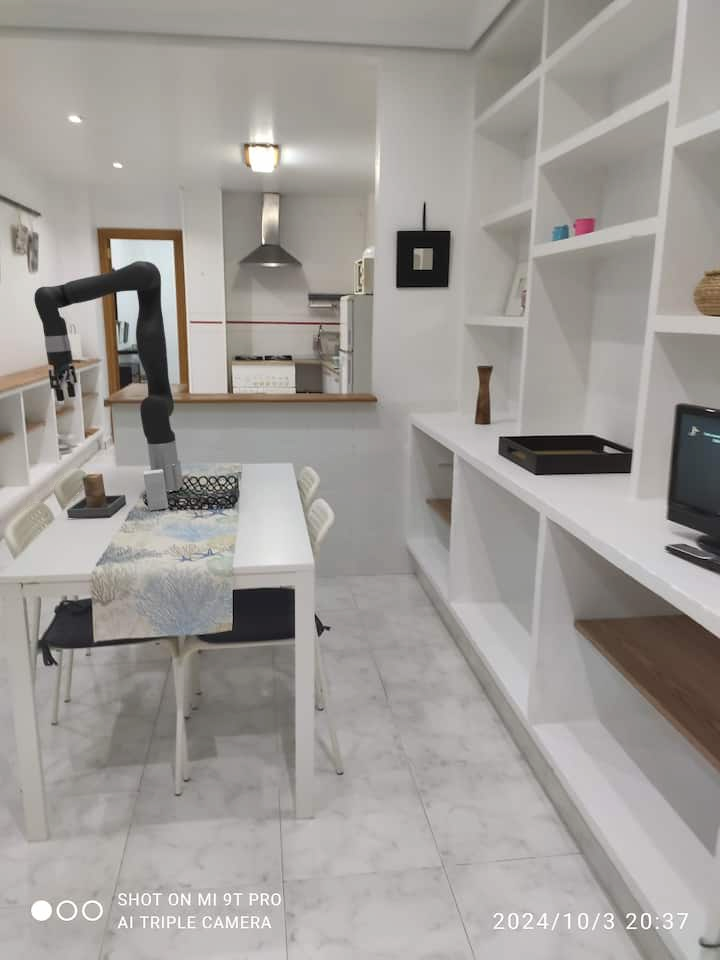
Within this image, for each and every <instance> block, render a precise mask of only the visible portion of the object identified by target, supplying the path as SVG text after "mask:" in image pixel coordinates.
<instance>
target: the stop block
mask: <svg viewBox="0 0 720 960" xmlns="http://www.w3.org/2000/svg"><path fill="white" fill-rule="evenodd" d="M82 483H83V490H84V494H85V495H84V496H85V497H86V502H87V508H107V502H106V496H107V495H106V491H105V484H104V483H105V482H104V478H103V473H93V474H90V473H88V474H87V475H85V476H84V477H82Z"/></svg>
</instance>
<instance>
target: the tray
mask: <svg viewBox="0 0 720 960" xmlns="http://www.w3.org/2000/svg"><path fill="white" fill-rule="evenodd" d="M106 502H107V508H87V502H86V496H85V497H83V498H82V499H80V500H79V501H77V502H75V504H74V505H71V506H70V507H69V508H67V510H66V512H67V518H87V519H104V518H105V519H106V518H109V519H110V518H112V517H113V516H114V515H115V514H116V513H117V512H118V511H120V510H121V509H122V508H123V507H125V506H126V505H127V499H126V494H120V495H119V494H117V495H116V494H115V495H106Z"/></svg>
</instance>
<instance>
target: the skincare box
mask: <svg viewBox="0 0 720 960" xmlns="http://www.w3.org/2000/svg"><path fill="white" fill-rule="evenodd" d="M143 479H144V486H145V492H146V498H147V505H148V510H149V511H150V512H151V511H159V510H163V509H169V501H168V493H166V486H165V480H164V472H163V470H162V469H159V470H151V469H150V470H146V471H144V470H143Z"/></svg>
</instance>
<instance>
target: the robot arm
mask: <svg viewBox="0 0 720 960" xmlns="http://www.w3.org/2000/svg"><path fill="white" fill-rule="evenodd" d="M131 291H132V292H133V291H134V292H135V291H136V293H137V294H136V295H137V300H138V315H137V320H136V328H135V340H136V341H135V342H136V349H137V356H138V358H139V362H140V364H141V367H142V369H143V371H144V374H145V376H146V381H147V397H145V398H143V400H142V401H141V403H140V409H139V410H140V418H141V425H142V429H143V434H144V437H145V438H146V444H147V450H148V460H149V464H150V465H149V467H150V471H151V470H159V469H162V470H163V472H164V480H165V486H166V490H179V489H180V488H181V487H182V486H183V487H184V481H183V474H182V466H181V461H180V460H179V458H178V450H177V441H176V434H175V432H174V431H173V430H172V428H171V421H170V417H171V416H172V414H173V413H174V409H175V405H174V399H173V394H172V390H171V389H172V388H171V384H170V378H169V366H168V364H169V363H168V353H167V351H168V350H167V342H166V341H167V340H166V334H165V332H166V331H165V324H164V318H163V317H164V316H163V311H162V309H163V308H162V277H161V273H160V270H159V268H158V267H157V266H156V264H154V263H153V262H150V261H142V260H137V261H134V262H132V263H130V264H128V265H125V266H122V267H120V268H119V269H115V270H113V271H111V272H108V273H103V274H98V275H93V276H88V277H83V278H79V279H75V280H74V279H73V280H71V281H68V282H66V283H64V284H60V285H54V286H41V287H39V288H37V289H36V290H35V293H34V299H33V300H34V304H35V308H36V311H37V313H38V316H39V319H40V321H41V322H42V328H43V329H42V330H43V334H44V346H45V351H46V358H47V363H48V365H49V366H53V369H49V370H48V377H49V384H50V389H53V390H54V391H55V396H56V401H57V402H64V401H65V394H64V390H63V388H64V385H65V384H66V388H67V389H66V391H67V395H68V398H76V395H77V394H76V390H75V386H76V384H77V382H78V380H77V374H76V369H75V365H71V364H73V363H74V359H73V354H72V348H71V343H70V339H69V338H70V337H69V335H68V328H67V323H66V320H65V318H64V317H61V314H60V312H59V311H60V310H59V309H62V308H65V307H69V306H72V305H74V304H81V303H85V302H89V301H94V300H97V299H100V298H103V297H105V296H108V295H111V294H112V295H113V294H115V293H119V292H131Z"/></svg>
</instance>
